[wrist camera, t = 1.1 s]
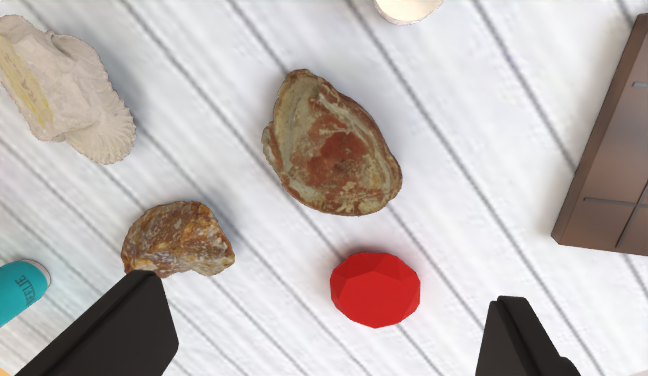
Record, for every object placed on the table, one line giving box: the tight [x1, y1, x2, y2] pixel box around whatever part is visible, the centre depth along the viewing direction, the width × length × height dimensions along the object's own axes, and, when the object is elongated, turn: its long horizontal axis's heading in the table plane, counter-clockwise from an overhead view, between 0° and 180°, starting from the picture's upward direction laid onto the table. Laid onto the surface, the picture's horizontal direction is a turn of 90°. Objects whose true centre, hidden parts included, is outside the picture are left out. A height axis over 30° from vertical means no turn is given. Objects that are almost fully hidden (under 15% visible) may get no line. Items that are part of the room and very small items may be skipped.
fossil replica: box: [0, 15, 136, 165], centre depth 28 cm, size 12×8×10 cm
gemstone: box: [330, 252, 420, 328], centre depth 33 cm, size 9×9×3 cm
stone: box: [262, 69, 403, 217], centre depth 29 cm, size 13×10×3 cm
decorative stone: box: [121, 201, 235, 278], centre depth 35 cm, size 10×4×15 cm
